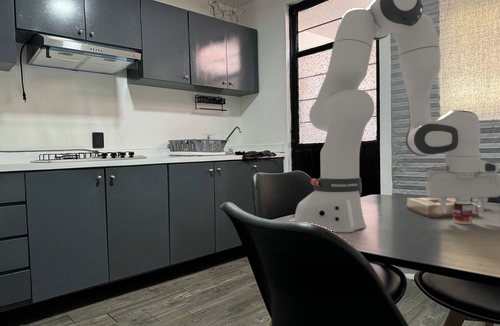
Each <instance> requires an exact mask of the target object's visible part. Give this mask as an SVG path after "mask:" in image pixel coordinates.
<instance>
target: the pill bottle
mask: <svg viewBox="0 0 500 326" xmlns="http://www.w3.org/2000/svg"><path fill="white" fill-rule="evenodd" d="M455 199H456V200H455V201H454V202H453V217H452V218H453V223H454V224H455V223H456V224H459V225H471V224H473V216H472V203H473V201H472V202H471V201H470V200H471V198H470V196H469V195H464V196H462V198H455Z"/></svg>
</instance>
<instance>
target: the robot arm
mask: <svg viewBox="0 0 500 326" xmlns="http://www.w3.org/2000/svg"><path fill="white" fill-rule="evenodd" d="M423 11H424V6H423V4H422V0H373V1H372V2H371V3H370V4H369V6H368V7H366V9H365V8H361V7H360V8H359V7H358V8H352V9H349V10H347V11H346V12H345V13H344V14H343V16H342V18H341V20H340V22H339V25H338V28H337V30H336V33H335V38H334V40H333V44H332V50H331V55H330V60H329V64H328V68H327V72H326V74H325V77H324V80H323V82H322V85H321V87H320V88H319V91H318V95H317V97H316V99H315V101H314V103H313V104H312V106H311V107H310V109H309V112H308V114H309V121H310V123H311V125H312V126H313V127H314V128H315V129H318V130H320V131H323V132H326V136H325V140H324V144H323V146H322V148H321V150H320V153H319V154H320V155H319V156H320V177H318V178H317V179H316V178H311V180H310V184H311V185H312V186H313V189H314V190H313V191H312V192H311V193H310V194H308V195H307V196H306V197H304V198H303V199H302V200H301V201H299V202H298V204H297V206H296V209H295V217H293V218H290V219H289V220H288V221H298V222H308V223H313V224H317V225H320V226H323V227H326V228H327V229H329V230H332V231H333V232H332V233H353V232H354V231H357V230H360V229H363V228H366V227H367V225H366V221H365V218H364V214H363V213H364V212H363V209H362V201H361V197H362V178H361V177H360V153H361V151H360V149H361V145H362V140H363V137H364V133H365V129H366V127H367V124H368V123H369V122H370V121H371V119H372V118H373V115H374V112H375V103H374V100H373V98H372V96H371V95H370V94H369V93H368V92H367V91H365V90H362V89H359V87H360V85H361V84H362V82H363V81H364V80H365V79H366V76H367V74H368V69H369V65H370V59H371V54H372V49H373V44H374V41H378V40H382V39H384V38H386V37H388V36H389V35H390V34H391V35H392V37H393V38H394V40H395V41H396V45H397V51H398V53H397V54H398V62H399V67H400V71H401V76H402V78H403V82H404V85H405V87H404V88H405V90H406V95H407V96H406V97H407V106H408V115H409V116H408V117H409V127H408V130H407V133H406V136H405V146H406V147H407V149H408V151H409V152H410V153H411V154H413V155H415V156H418V157H427V156H435V155H439V154H442V153H444V154H445V159H444V161H445V165H444V166H443V165H442V166H431V168H428V169H427V171H426V173H425V174H426V176H425V177H426V183H425V195H426V196H427V198H438V201H439V203H440V204H441V206H442V212H443V213H450V207H447V205H446V204H445V202H447V198H462V196H464V195H469V196H470V198H472V199H473V198H478V201H479V202H478V203H477V204H478V206H475V212H477V213H479V214H483V213H484V207H485V206H486V204H487V202H488V201H489V199H488V198H499V197H500V174H499V173H498V172H499V171H500V165H499V164H496V163H493V162H489V161H486V160H483V159H481V158H482V157H481V151H480V144H481V141H482V140H481V139H482V137H481V125H480V119H479V116H478V115H477V114H476V113H475V112H473V111H470V110H461V109H460V110H459V109H458V110H457V109H456V110H450V111H448V112H447V113H445V114H444V115H443V116H440V117H438V118H436V119H433V120H432V111H431V100H430V97H431V91H432V87H433V85H434V82H435V81H436V79H437V77H438V75H439V72H440V70H441V69H440V68H441V50H440V43H439V37H438V32H437V29H436V26H435V24H434V20H433V19H432V17H431V16H430V15H428V14H425V13H423Z"/></svg>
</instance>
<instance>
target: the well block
mask: <svg viewBox="0 0 500 326" xmlns="http://www.w3.org/2000/svg"><path fill="white" fill-rule="evenodd" d="M455 200H456V199H455V198H447V202H445V204H446V205H447V207H450V213H443V212H442V206H441V204H440V203H439V201H438V198H430V197H407V198H406V209H407V210H410V211H412V212H415V213H416V214H419V215H422V216H424V217H427V218H439V217H441V218H444V217H445V218H447V217H448V218H449V217H452V218H453V202H454V201H455ZM478 204H479V203H475V202H472V217H479V214H480V213H477V212H475V206H478Z"/></svg>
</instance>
